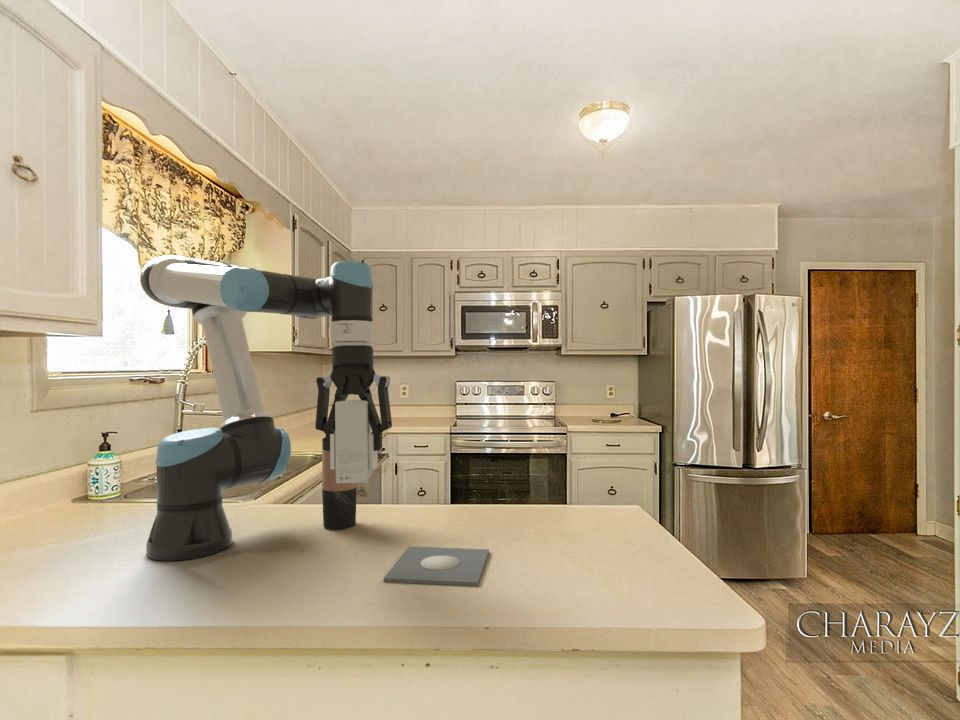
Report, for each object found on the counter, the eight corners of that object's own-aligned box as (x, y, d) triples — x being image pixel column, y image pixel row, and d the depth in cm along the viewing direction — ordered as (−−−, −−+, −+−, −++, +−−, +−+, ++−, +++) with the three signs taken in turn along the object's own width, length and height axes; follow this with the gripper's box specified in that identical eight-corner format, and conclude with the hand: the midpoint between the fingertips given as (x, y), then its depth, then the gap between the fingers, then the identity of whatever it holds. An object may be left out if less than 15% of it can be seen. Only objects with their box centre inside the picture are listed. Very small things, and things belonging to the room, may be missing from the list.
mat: (383, 581, 90) (383, 577, 90) (408, 549, 106) (408, 545, 106) (477, 586, 88) (477, 581, 88) (489, 552, 104) (489, 548, 104)
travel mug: (361, 521, 126) (360, 435, 126) (350, 531, 118) (349, 440, 119) (329, 520, 127) (329, 435, 127) (316, 530, 119) (316, 440, 119)
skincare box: (367, 484, 96) (368, 401, 97) (333, 484, 96) (334, 401, 96) (372, 475, 105) (372, 398, 105) (340, 475, 104) (341, 398, 104)
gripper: (293, 345, 98) (295, 471, 98) (397, 342, 96) (399, 472, 95) (312, 347, 106) (313, 464, 105) (409, 344, 103) (410, 465, 103)
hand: (354, 467), depth 100 cm, fingers closed on skincare box, 7 cm apart
